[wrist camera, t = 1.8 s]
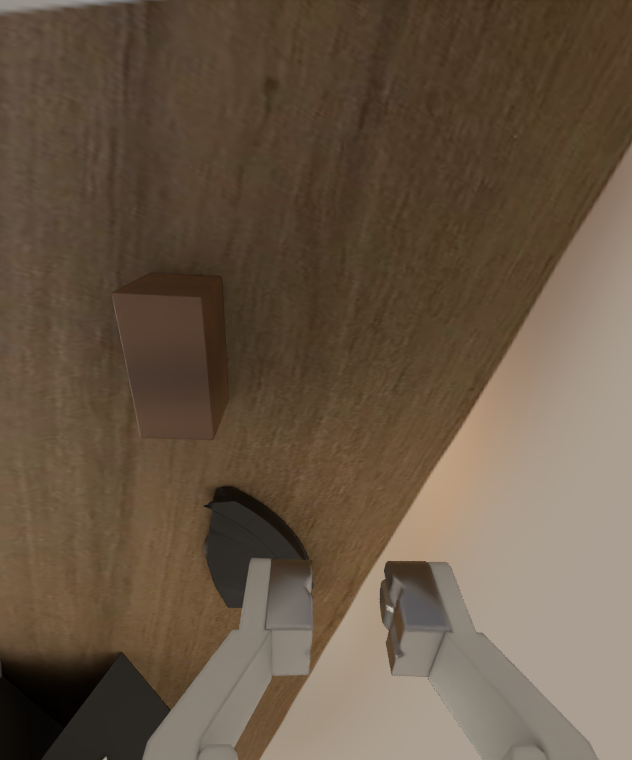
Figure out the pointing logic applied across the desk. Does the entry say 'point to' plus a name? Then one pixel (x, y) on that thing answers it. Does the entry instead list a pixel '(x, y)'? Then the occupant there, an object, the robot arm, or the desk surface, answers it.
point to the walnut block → (175, 353)
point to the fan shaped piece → (244, 542)
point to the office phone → (84, 721)
